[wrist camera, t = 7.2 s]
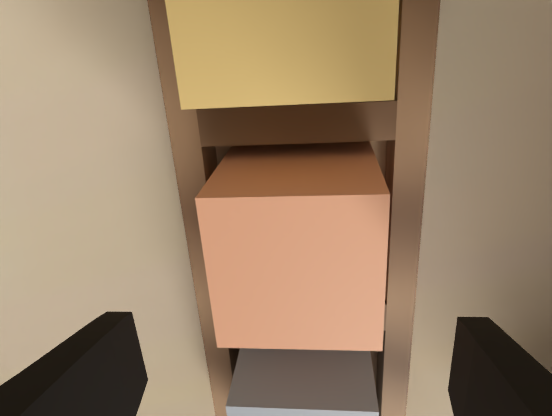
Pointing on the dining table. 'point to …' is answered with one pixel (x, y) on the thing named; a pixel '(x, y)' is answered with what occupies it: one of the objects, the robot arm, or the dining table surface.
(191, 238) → the frame
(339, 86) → the ochre cube
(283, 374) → the slate cube
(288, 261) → the terracotta cube
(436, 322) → the dining table surface
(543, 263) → the dining table surface
